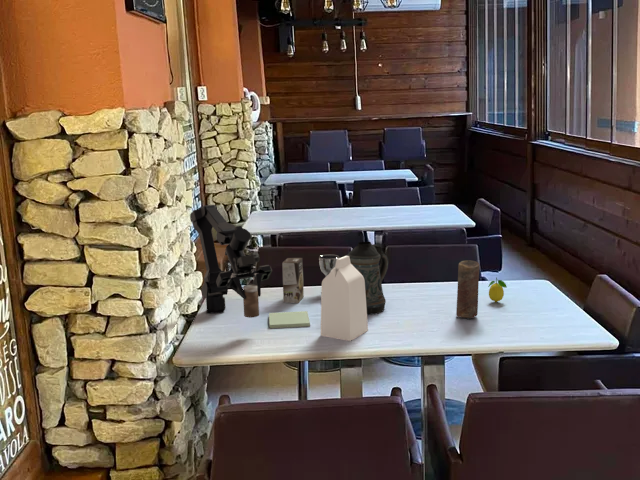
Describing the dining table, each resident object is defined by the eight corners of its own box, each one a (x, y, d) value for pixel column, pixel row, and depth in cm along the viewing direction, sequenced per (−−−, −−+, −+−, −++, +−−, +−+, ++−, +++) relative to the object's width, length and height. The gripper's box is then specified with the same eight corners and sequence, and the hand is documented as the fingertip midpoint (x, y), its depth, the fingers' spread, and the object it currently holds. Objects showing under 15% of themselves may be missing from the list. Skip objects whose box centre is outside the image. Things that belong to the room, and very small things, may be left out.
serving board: (269, 328, 247) (269, 324, 247) (269, 316, 261) (268, 313, 260) (310, 326, 248) (309, 322, 248) (307, 314, 262) (307, 311, 261)
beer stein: (335, 313, 263) (333, 246, 258) (352, 298, 280) (351, 236, 275) (378, 317, 256) (377, 249, 251) (393, 302, 274) (393, 238, 269)
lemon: (506, 305, 267) (507, 279, 265) (490, 305, 267) (491, 279, 265) (502, 300, 273) (502, 274, 271) (486, 300, 274) (487, 275, 272)
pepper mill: (244, 317, 237) (242, 288, 235) (244, 313, 242) (242, 284, 240) (259, 317, 237) (257, 288, 235) (259, 312, 242) (257, 284, 240)
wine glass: (319, 290, 293) (318, 254, 290) (338, 289, 294) (337, 254, 291) (320, 295, 286) (319, 259, 283) (340, 294, 286) (339, 258, 283)
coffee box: (299, 303, 276) (297, 262, 273) (283, 302, 277) (281, 262, 274) (304, 296, 285) (303, 257, 281) (288, 296, 286) (287, 257, 283)
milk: (350, 341, 232) (349, 263, 227) (320, 335, 238) (318, 259, 233) (368, 330, 242) (367, 255, 237) (338, 325, 248) (337, 252, 243)
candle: (480, 315, 255) (481, 261, 251) (475, 321, 248) (476, 265, 244) (459, 313, 258) (459, 259, 254) (453, 319, 252) (454, 264, 248)
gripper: (217, 248, 233) (232, 288, 226) (268, 241, 243) (284, 280, 235) (209, 267, 242) (224, 306, 235) (259, 260, 251) (275, 297, 244)
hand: (252, 297), depth 237 cm, fingers closed on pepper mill, 5 cm apart
